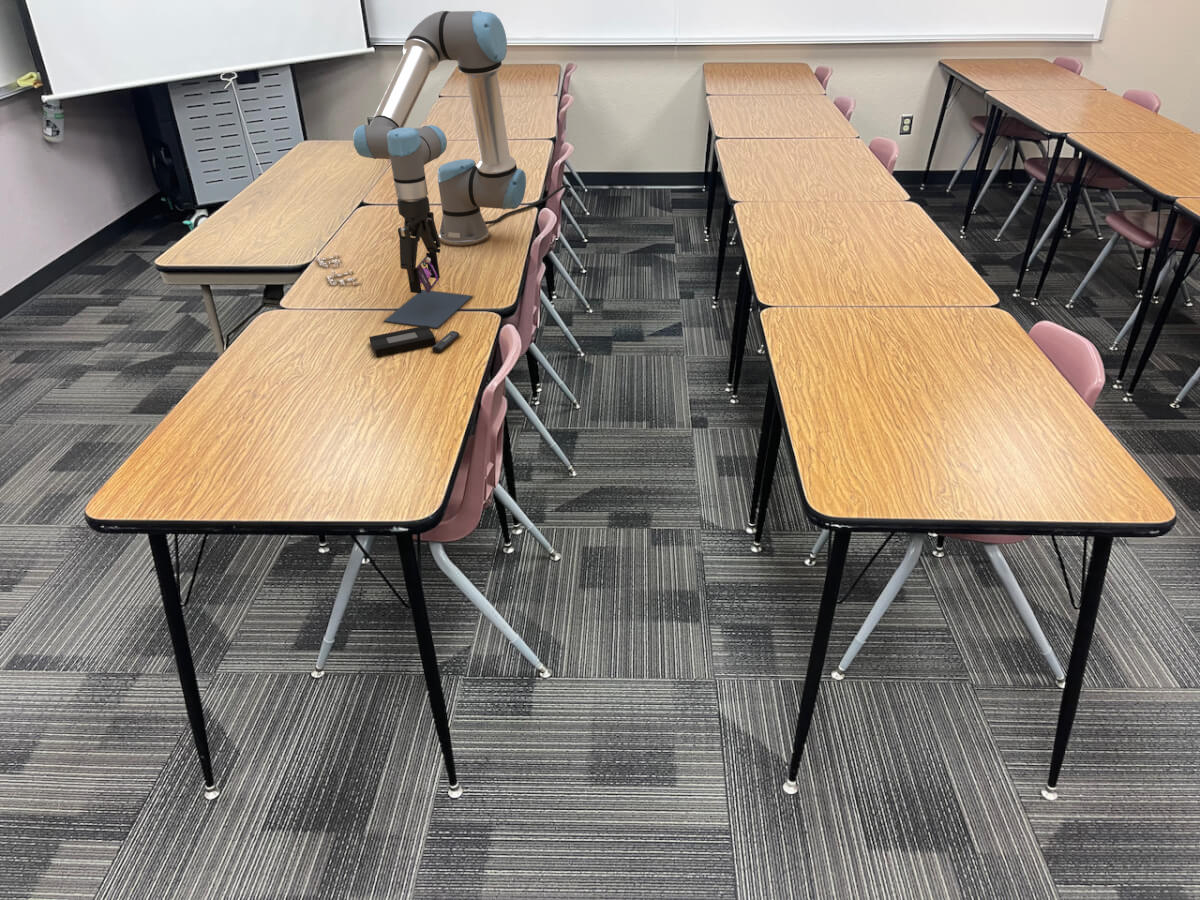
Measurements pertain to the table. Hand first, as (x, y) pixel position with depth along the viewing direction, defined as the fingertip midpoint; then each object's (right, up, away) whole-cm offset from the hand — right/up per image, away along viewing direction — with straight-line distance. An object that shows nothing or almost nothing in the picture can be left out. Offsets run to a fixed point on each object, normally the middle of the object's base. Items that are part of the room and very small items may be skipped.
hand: (425, 284), depth 209 cm
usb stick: (+8, -17, -13) cm, 23 cm away
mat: (0, -6, +4) cm, 7 cm away
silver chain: (-31, +9, +26) cm, 42 cm away
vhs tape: (-3, -17, -13) cm, 21 cm away
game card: (0, -1, 0) cm, 0 cm away
